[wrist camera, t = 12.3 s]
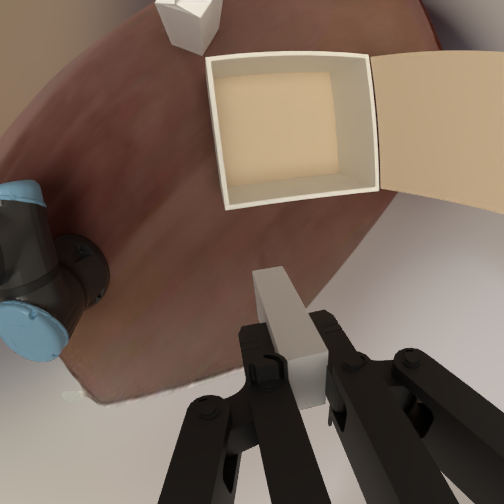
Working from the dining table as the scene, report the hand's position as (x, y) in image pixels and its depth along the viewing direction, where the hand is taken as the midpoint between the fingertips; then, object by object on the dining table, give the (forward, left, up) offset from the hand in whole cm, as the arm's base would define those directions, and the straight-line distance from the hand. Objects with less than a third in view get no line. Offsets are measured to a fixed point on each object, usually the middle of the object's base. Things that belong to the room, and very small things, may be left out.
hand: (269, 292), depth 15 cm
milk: (-2, +26, -40) cm, 47 cm away
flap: (+26, +8, -16) cm, 32 cm away
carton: (+10, +8, -39) cm, 41 cm away
